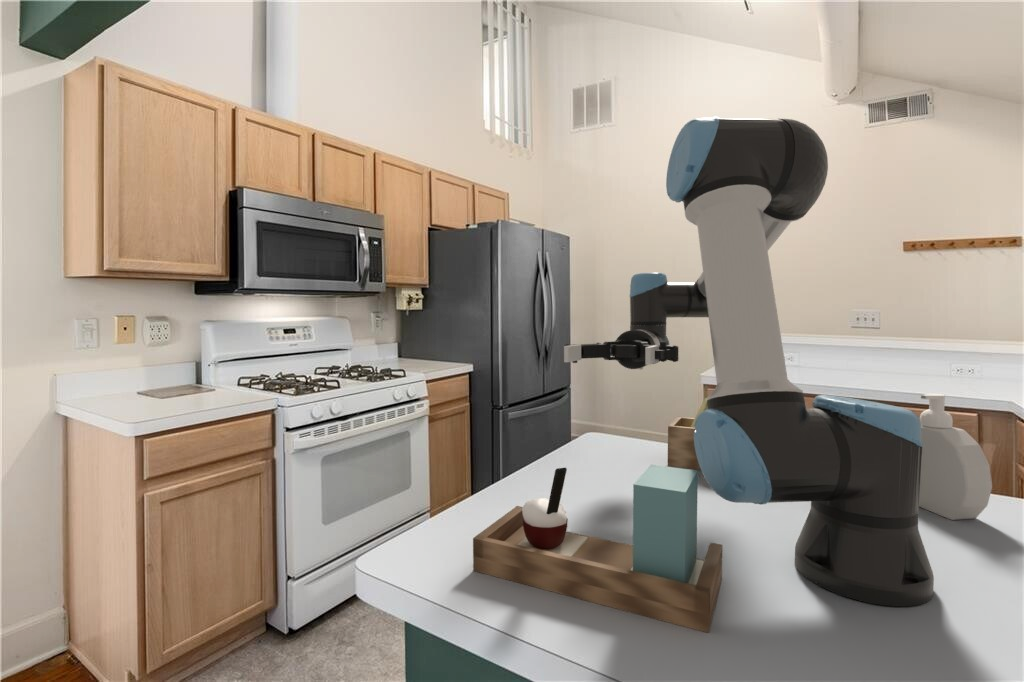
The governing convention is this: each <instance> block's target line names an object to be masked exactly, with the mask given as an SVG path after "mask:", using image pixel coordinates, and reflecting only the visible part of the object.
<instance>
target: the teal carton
mask: <svg viewBox="0 0 1024 682" xmlns="http://www.w3.org/2000/svg"><path fill="white" fill-rule="evenodd" d="M698 477H699V470H694V469H686V468H679V467H671V466H665V465H656V464H649V466H648V467H647V468H646V469H645V471H644V472H643V473H642V474H641V475H640V476H639V478H638V479H636V481H635V482H634V483H633V489H632V492H633V496H632V497H633V498H632V499H633V500H632V501H633V502H632V503H633V504H632V512H633V513H632V516H633V517H632V518H633V519H632V521H633V522H632V545H633V571H636V572H641V573H645V574H650V575H654V576H658V577H663V578H667V579H672V580H676V581H680V582H685V583H689V580H690V577H691V574H692V572H693V569H694V566H695V563H696V558H697V549H698V548H697V546H698V545H697V544H698V543H697V542H698V541H697V540H698V539H697V538H698V533H697V532H698V486H699V485H698V484H699V482H698V481H699V478H698Z"/></svg>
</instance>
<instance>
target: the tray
mask: <svg viewBox="0 0 1024 682" xmlns="http://www.w3.org/2000/svg"><path fill="white" fill-rule="evenodd" d="M522 507H523V506H520V505H516V506H515V507H514V508H512V509H511V510H509V511H508V512H507V513H505V514H504V515H502V516H501V517H500V518H498V519H497V520H496V521H494V522H493V523H492V524H490V525H489V526H487V527H486V528H485V529H483V530H482V531H480V532H479V533H478V534H477V535H475V536H474V537H472V559H473V562H472V563H473V564H472V566H473V567H472V568H473V569H472V570H473V571H474V572H477V573H482V574H485V575H487V576H492V577H496V578H499V579H504V580H508V581H511V582H514V583H519V584H523V585H525V586H526V585H527V586H530V587H534V588H537V589H542V590H545V591H549V592H553V593H557V594H561V595H564V596H568V597H571V598H575V599H580V600H583V601H587V602H591V603H594V604H598V605H601V606H606V607H609V608H614V609H618V610H621V611H625V612H628V613H632V614H636V615H640V616H644V617H647V618H651V619H654V620H655V619H656V620H658V621H659V620H660V621H663V622H667V623H670V624H674V625H678V626H682V627H685V628H689V629H692V630H696V631H701V632H705V633H707V634H709V632H710V628H711V625H712V620H713V615H714V612H715V608H716V604H717V599H718V596H719V592H720V588H721V584H722V580H723V544H720V543H715V542H709V546H708V548H707V550H706V551H707V552H706V554H705V557H704V559H702V558H697V557H696V563H695V566H694V569H693V572H692V574H691V577H690V580H689V583H685V582H680V581H676V580H672V579H667V578H663V577H658V576H654V575H650V574H645V573H641V572H636V571H633V544H630V543H624V542H619V541H615V540H611V539H610V540H609V539H605V538H599V537H594V536H591V535H585V534H581V533H580V534H579V533H575V532H570V531H566V534H565V538H564V540H563V542H562V543H561V544H560V545H559V546H557V547H555V548H553V549H539V548H536V547H534V546H533V545H531V544H530V543H529V542H528V540H527V538H526V536H525V532H524V528H523V518H524V517H523V513H522Z"/></svg>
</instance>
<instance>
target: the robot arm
mask: <svg viewBox="0 0 1024 682" xmlns="http://www.w3.org/2000/svg"><path fill="white" fill-rule="evenodd" d="M676 136H677V137H676V138H675V141H674V144H673V146H672V149H671V153H670V155H669V161H668V165H667V171H666V179H665V180H666V182H665V188H666V194H667V196H668V197H669V200H671V201H672V202H675V203H681V202H682V203H683V209H684V216H685V218H686V220H687V221H688V222H690V223H691V224H692V225H695V226H696V227H697V233H698V240H699V250H700V256H701V258H700V259H701V266H702V273H701V274H700V276H699V277H698V278H697V280H696V281H695V282H694V281H693V282H690V281H689V282H683V281H682V282H680V281H679V282H678V281H668V279H667V275H666V274H665V273H664V272H640V273H636V274H634V275H632V276H631V279H630V284H629V286H630V287H629V288H630V289H629V290H630V291H629V315H630V316H629V317H630V325H629V330H626V331H624V332H623V333H621V334H620V335H619V336H618V337H617V338H616V339H615V340H614V341H604V342H603V343H602V342H595V343H578V344H577V343H576V344H569V343H566V344H564V345H563V363H571V364H572V363H573V364H577V363H578V361H582V359H583V360H584V359H603V360H604V361H616V362H618V363H619V365H621V366H623V367H624V368H626V369H629V370H640V371H641V370H643V369H644V367H646V366H649V365H650V366H651V365H655V364H657V363H660V362H663V363H664V362H667V361H670V362H673V363H676V362H679V346H678V345H670V341H669V339H668V336H667V318H708V322H709V323H708V324H709V330H710V331H709V332H710V338H711V347H712V355H713V363H714V371H715V379H716V386H715V388H714V389H713V391H712V392H711V393H709V395H708V396H707V397H706V398H707V406H708V409H707V410H705V411H703V412H701V413H700V414H699V415H698V417H697V418H696V421H695V425H694V426H695V430H696V431H694V445H695V451H696V455H697V459H698V462H699V465H700V468H701V470H700V471H701V473H702V475H703V476H704V479H705V480H706V482H707V483H708V485H709V486H710V488H711V489H712V490H713V491H714V492H715V494H717V496H719V497H720V498H722V499H724V500H726V501H728V502H731V503H737V504H738V503H739V504H740V503H743V504H744V503H745V504H748V503H749V504H750V503H751V504H754V505H767V504H769V503H771V504H772V503H774V504H775V503H795V502H796V503H799V502H810V510H809V513H808V514H807V517H806V520H805V522H804V524H803V527H802V529H801V530H800V532H799V533H800V534H799V536H798V538H797V541H796V542H795V546H794V564H795V565H794V566H795V567H796V569H797V570H798V571H799V572H800V574H801V575H803V576H804V577H805V578H807V579H808V581H811V582H812V583H814V584H816V585H818V586H819V587H821V588H823V589H825V590H828V591H830V592H832V593H834V594H838V595H840V596H843V597H846V598H850V599H852V600H856V601H860V602H864V603H868V604H874V605H881V606H889V607H912V606H918V605H922V604H925V603H927V602H929V601H931V599H933V596H934V587H935V585H934V581H935V577H934V572H933V569H932V565H931V563H930V559H929V558H928V554H927V551H926V549H925V545H924V543H923V540H922V537H921V534H920V530H919V510H920V509H919V508H920V507H919V491H920V474H921V458H922V448H923V443H922V442H921V422H920V417H919V416H918V414H916V413H915V412H913V411H911V410H910V409H907V408H903V407H900V406H895V405H892V404H886V403H883V402H882V403H881V402H877V401H872V400H871V401H870V400H865V399H858V398H853V397H845V396H838V395H828V394H826V395H825V394H821V395H820V394H819V395H816V396H815V397H814V400H813V402H811V404H812V405H811V406H812V407H813V408H807V407H806V402H805V401H806V400H805V396H804V395H805V394H804V391H803V390H802V389H801V388H799V387H798V386H797V385H795V384H793V382H791V381H790V379H788V374H787V366H786V359H785V354H784V348H783V347H784V346H783V342H782V333H781V327H780V323H779V322H780V321H779V315H778V309H777V304H776V297H775V296H776V295H775V291H774V290H775V289H774V283H773V277H772V271H771V264H770V259H769V250H770V249H771V247H772V246H773V245H774V243H776V241H777V240H778V239H779V237H781V235H782V234H783V233H784V231H785V230H786V229H787V228H788V226H789V225H790V224H791V223H792V222H795V221H796V222H797V221H799V220H801V219H803V218H804V217H805V215H806V214H808V212H809V211H810V210H811V209H812V207H813V206H814V205H815V204H816V202H817V200H818V199H819V197H820V196H821V193H822V192H823V189H824V187H825V185H826V181H827V178H828V171H829V162H828V152H827V150H826V147H825V144H824V142H823V140H822V139H821V137H820V136H819V135H818V133H817V132H816V131H815V130H814V129H812V127H810V126H809V125H808V124H806V123H804V122H801V121H799V120H796V119H792V118H790V119H789V118H777V119H773V118H720V117H719V116H713V117H701V118H694V119H691V120H689V121H688V122H687V123H685V124H684V125H683V126H682V128H681V129H680V131H679V132H678V135H676Z"/></svg>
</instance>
